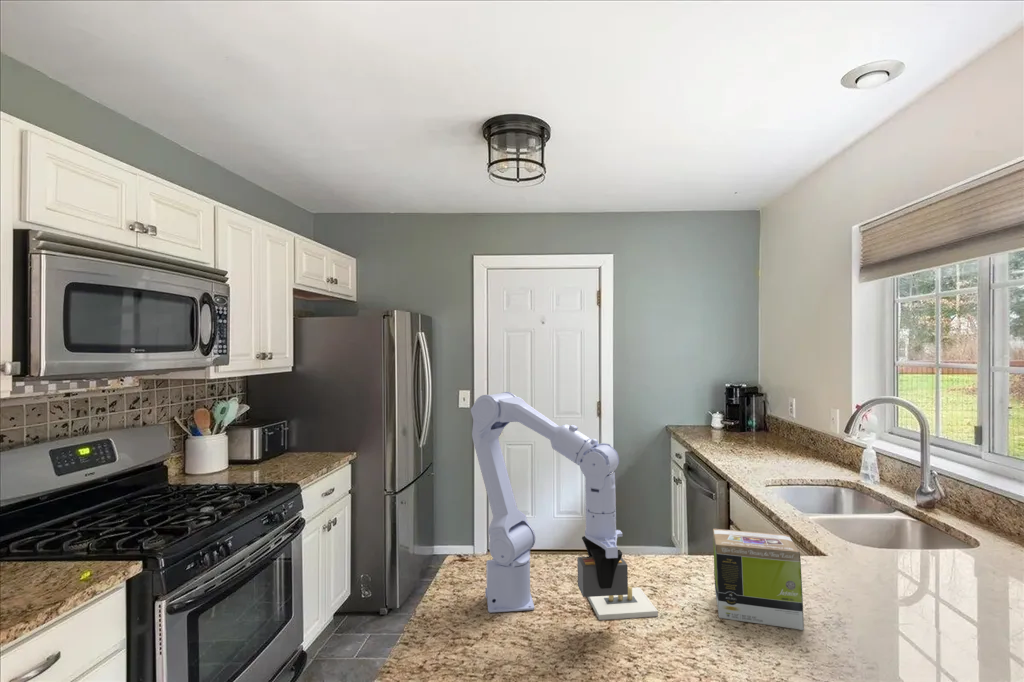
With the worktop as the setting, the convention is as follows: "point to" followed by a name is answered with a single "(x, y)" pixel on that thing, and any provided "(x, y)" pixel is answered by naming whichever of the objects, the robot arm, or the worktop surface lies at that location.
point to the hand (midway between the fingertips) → (601, 581)
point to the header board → (623, 605)
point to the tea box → (758, 578)
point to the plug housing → (590, 580)
